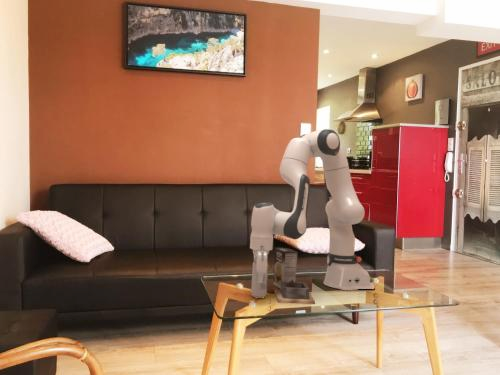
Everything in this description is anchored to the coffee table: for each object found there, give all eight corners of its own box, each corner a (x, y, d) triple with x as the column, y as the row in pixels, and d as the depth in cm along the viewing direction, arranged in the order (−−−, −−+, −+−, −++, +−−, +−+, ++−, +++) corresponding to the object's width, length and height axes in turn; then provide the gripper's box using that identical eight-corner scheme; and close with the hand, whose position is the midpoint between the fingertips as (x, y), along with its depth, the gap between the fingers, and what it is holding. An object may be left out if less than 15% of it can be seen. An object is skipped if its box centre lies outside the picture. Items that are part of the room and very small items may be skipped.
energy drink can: (257, 293, 172) (259, 256, 172) (269, 297, 168) (271, 259, 168) (247, 296, 168) (249, 258, 167) (259, 300, 164) (262, 261, 163)
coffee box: (272, 284, 188) (274, 247, 188) (285, 283, 191) (287, 247, 190) (282, 290, 180) (284, 251, 180) (295, 289, 183) (297, 251, 182)
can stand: (308, 293, 177) (309, 281, 177) (315, 303, 163) (315, 290, 163) (274, 292, 176) (275, 279, 176) (278, 302, 162) (278, 289, 162)
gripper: (271, 249, 157) (269, 287, 158) (267, 240, 178) (265, 273, 178) (254, 248, 157) (252, 286, 157) (252, 239, 177) (250, 273, 178)
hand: (259, 279), depth 168 cm, fingers open, 7 cm apart
